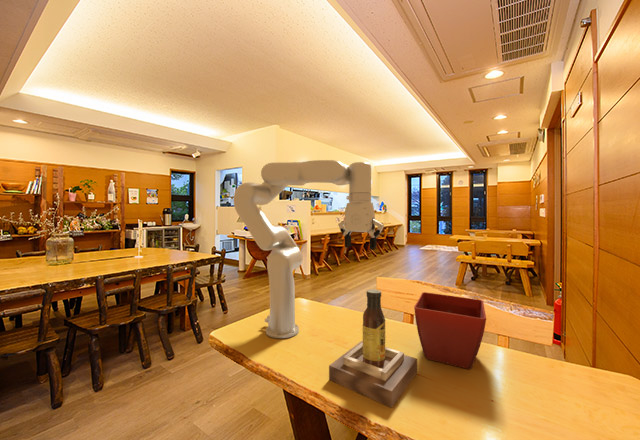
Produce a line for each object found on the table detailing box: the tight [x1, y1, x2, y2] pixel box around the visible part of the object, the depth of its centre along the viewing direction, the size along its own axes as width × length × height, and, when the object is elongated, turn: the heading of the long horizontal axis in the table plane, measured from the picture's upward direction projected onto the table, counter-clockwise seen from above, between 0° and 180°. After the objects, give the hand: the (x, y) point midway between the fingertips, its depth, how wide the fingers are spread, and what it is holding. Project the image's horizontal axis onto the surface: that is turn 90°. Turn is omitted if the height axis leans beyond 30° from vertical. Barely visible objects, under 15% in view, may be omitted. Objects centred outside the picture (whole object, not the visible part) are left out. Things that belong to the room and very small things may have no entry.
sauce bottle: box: [362, 289, 386, 367], centre depth 77 cm, size 6×6×20 cm
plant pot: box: [413, 291, 487, 370], centre depth 89 cm, size 19×19×17 cm
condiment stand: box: [328, 340, 418, 409], centre depth 78 cm, size 18×18×6 cm
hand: (359, 248), depth 96 cm, fingers open, 9 cm apart
